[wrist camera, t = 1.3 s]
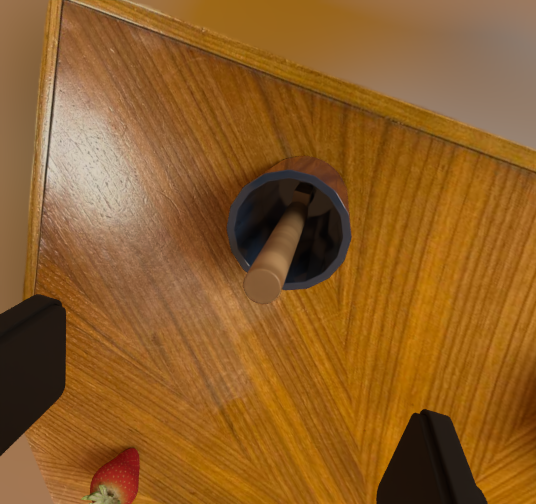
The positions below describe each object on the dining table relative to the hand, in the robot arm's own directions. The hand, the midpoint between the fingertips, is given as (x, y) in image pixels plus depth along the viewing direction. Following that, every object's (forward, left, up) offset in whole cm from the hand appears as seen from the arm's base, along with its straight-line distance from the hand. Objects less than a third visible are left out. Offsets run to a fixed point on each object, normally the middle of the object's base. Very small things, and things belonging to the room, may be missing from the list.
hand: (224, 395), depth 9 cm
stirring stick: (0, 0, -22) cm, 22 cm away
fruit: (+35, -12, -23) cm, 43 cm away
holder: (0, 0, -22) cm, 22 cm away
